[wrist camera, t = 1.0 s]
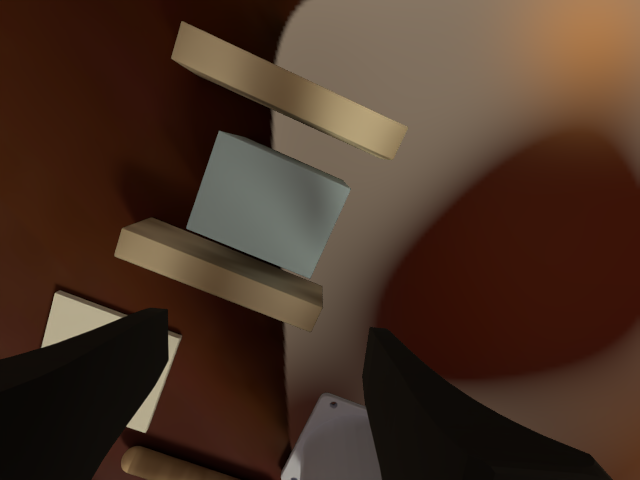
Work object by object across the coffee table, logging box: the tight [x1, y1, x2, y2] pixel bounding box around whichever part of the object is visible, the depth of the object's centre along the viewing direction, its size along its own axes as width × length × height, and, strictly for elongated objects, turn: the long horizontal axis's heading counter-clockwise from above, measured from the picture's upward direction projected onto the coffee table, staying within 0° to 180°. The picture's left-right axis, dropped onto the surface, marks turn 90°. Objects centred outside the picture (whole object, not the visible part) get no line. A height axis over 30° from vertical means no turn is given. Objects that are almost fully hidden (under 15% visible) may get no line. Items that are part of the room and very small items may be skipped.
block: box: [186, 131, 351, 278], centre depth 17 cm, size 6×4×5 cm
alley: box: [114, 21, 408, 332], centre depth 17 cm, size 11×12×3 cm
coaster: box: [41, 290, 182, 433], centre depth 22 cm, size 8×8×1 cm
